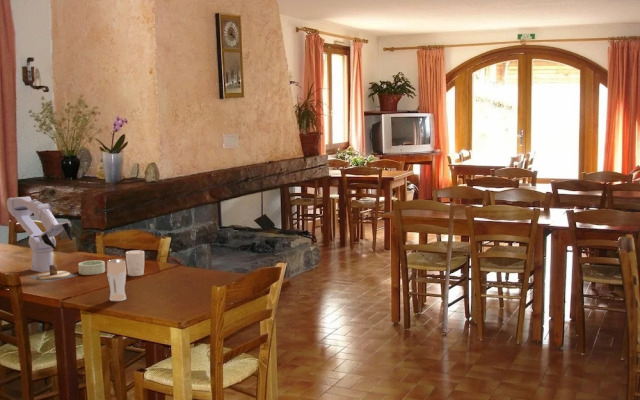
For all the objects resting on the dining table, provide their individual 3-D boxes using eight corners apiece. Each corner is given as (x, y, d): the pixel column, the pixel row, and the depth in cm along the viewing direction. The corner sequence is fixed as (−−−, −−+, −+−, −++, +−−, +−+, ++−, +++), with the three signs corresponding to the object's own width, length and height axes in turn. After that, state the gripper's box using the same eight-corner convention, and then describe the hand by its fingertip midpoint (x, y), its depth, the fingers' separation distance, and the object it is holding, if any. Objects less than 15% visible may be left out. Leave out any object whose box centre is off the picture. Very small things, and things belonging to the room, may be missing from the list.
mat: (28, 278, 308) (28, 277, 307) (59, 272, 319) (59, 270, 319) (47, 283, 298) (47, 282, 298) (79, 276, 310) (78, 275, 310)
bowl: (74, 273, 316) (73, 263, 315) (95, 269, 324) (95, 259, 324) (88, 277, 309) (87, 266, 308) (110, 272, 317) (109, 262, 317)
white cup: (140, 276, 308) (139, 254, 307) (123, 276, 310) (122, 253, 309) (148, 272, 316) (147, 250, 315) (131, 272, 318) (130, 250, 316)
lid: (31, 277, 308) (30, 266, 307) (59, 271, 318) (58, 260, 317) (48, 281, 299) (47, 270, 299) (75, 275, 310) (74, 264, 309)
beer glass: (110, 297, 275) (108, 259, 273) (128, 296, 275) (127, 258, 274) (106, 302, 268) (104, 262, 266) (125, 301, 269) (123, 262, 267)
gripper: (31, 225, 307) (43, 246, 300) (62, 209, 313) (75, 229, 305) (36, 235, 313) (49, 255, 306) (67, 219, 318) (80, 239, 311)
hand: (62, 243), depth 306 cm, fingers open, 7 cm apart
